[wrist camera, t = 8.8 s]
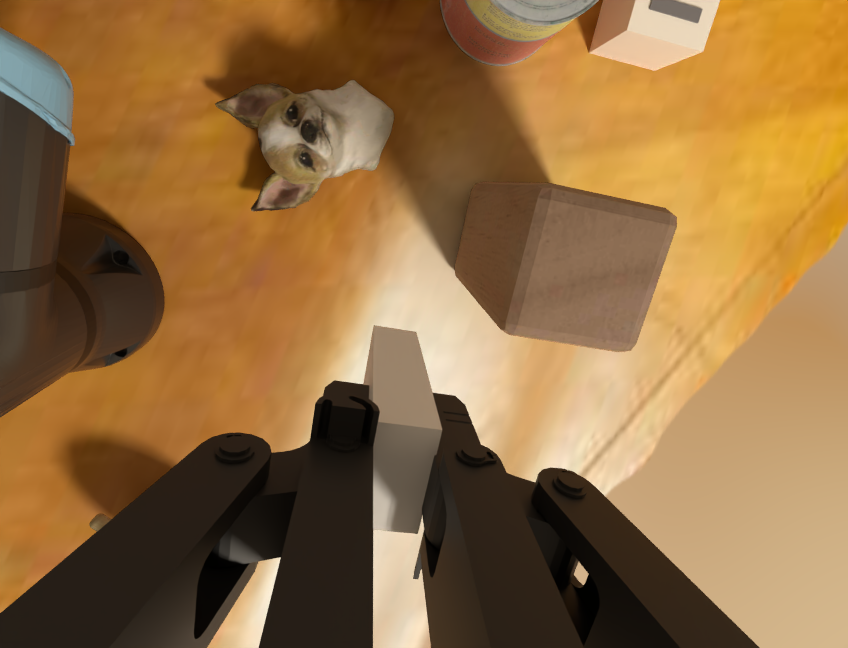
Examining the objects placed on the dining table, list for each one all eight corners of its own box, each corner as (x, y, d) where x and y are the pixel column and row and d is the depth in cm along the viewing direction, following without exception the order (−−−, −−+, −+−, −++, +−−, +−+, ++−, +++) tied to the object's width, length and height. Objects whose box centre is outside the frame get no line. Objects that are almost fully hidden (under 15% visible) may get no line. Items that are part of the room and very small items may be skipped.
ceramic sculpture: (409, 180, 37) (232, 223, 37) (408, 180, 45) (263, 215, 46) (375, 33, 34) (181, 82, 34) (381, 62, 42) (225, 101, 42)
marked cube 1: (588, 53, 43) (627, 29, 37) (611, -32, 41) (657, -73, 35) (654, 70, 44) (704, 51, 38) (679, -11, 43) (736, -48, 36)
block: (471, 179, 46) (539, 179, 27) (563, 199, 47) (689, 212, 28) (450, 276, 49) (499, 337, 30) (538, 291, 50) (637, 359, 31)
